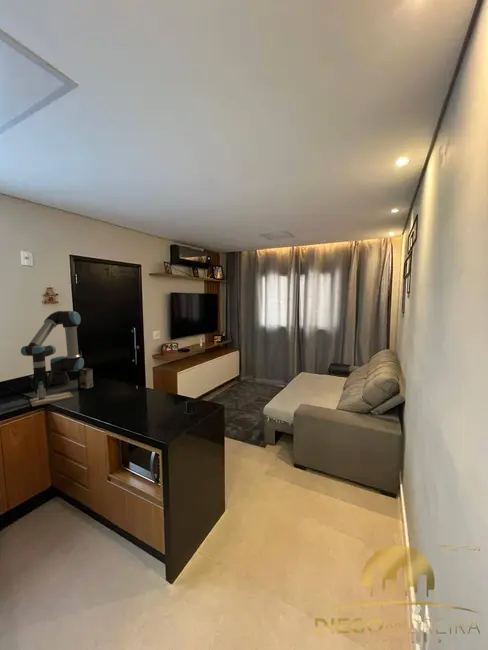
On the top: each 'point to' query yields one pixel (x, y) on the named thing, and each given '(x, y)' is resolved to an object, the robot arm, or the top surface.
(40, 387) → the marker
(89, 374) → the coffee box
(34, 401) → the writing board
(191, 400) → the top surface
